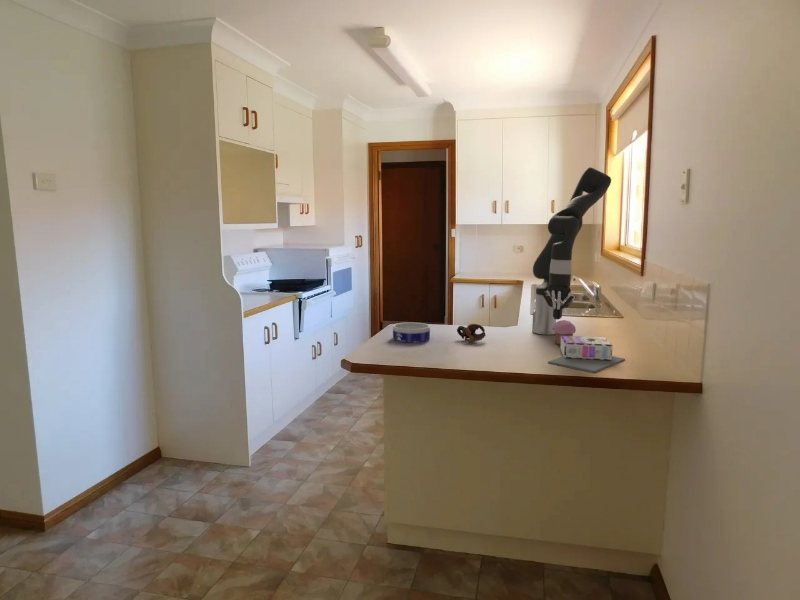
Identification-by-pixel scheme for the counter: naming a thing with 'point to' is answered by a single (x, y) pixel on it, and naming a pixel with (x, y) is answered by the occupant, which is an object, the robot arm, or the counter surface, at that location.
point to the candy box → (586, 347)
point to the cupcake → (563, 330)
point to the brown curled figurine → (471, 332)
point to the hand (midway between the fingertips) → (557, 319)
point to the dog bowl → (411, 332)
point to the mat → (586, 363)
